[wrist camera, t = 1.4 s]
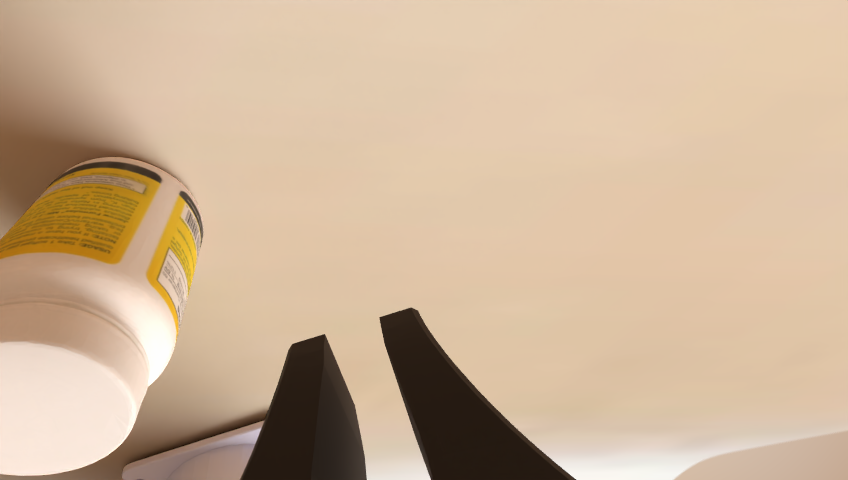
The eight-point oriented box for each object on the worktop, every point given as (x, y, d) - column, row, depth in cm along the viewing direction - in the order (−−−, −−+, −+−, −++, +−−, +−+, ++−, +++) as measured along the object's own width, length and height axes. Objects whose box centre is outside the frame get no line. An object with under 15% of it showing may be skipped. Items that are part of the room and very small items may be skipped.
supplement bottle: (14, 217, 16) (-189, 429, 9) (113, 123, 16) (-28, 278, 9) (145, 298, 19) (61, 513, 12) (235, 221, 18) (203, 402, 11)
